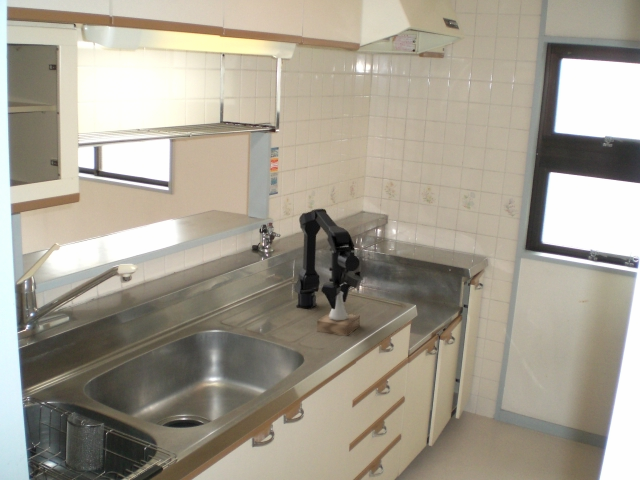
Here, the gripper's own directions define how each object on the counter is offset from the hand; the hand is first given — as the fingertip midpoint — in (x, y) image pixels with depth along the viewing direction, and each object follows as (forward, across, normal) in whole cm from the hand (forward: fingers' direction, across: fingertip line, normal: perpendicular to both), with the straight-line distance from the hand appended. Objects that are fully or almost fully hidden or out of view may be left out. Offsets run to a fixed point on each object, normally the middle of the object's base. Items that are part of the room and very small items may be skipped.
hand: (338, 305), depth 257 cm
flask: (+5, 0, 0) cm, 5 cm away
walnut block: (+9, 0, 0) cm, 9 cm away
